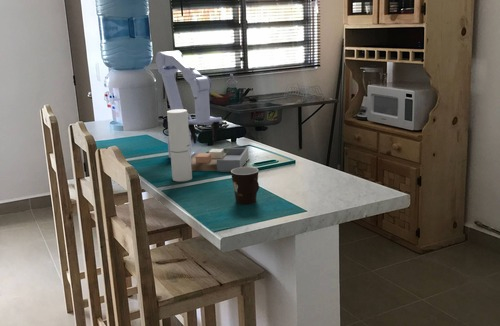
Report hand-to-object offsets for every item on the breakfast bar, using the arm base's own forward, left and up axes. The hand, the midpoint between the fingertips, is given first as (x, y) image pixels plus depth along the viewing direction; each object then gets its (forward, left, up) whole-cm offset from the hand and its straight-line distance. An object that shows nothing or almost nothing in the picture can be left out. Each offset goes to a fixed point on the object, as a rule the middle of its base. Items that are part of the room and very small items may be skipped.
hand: (204, 142), depth 212 cm
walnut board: (+1, -1, -9) cm, 9 cm away
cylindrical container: (-4, -20, -9) cm, 22 cm away
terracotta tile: (+1, -5, -6) cm, 8 cm away
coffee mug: (+24, -44, -9) cm, 51 cm away
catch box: (+11, -1, -9) cm, 14 cm away
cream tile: (+4, +2, -6) cm, 8 cm away
